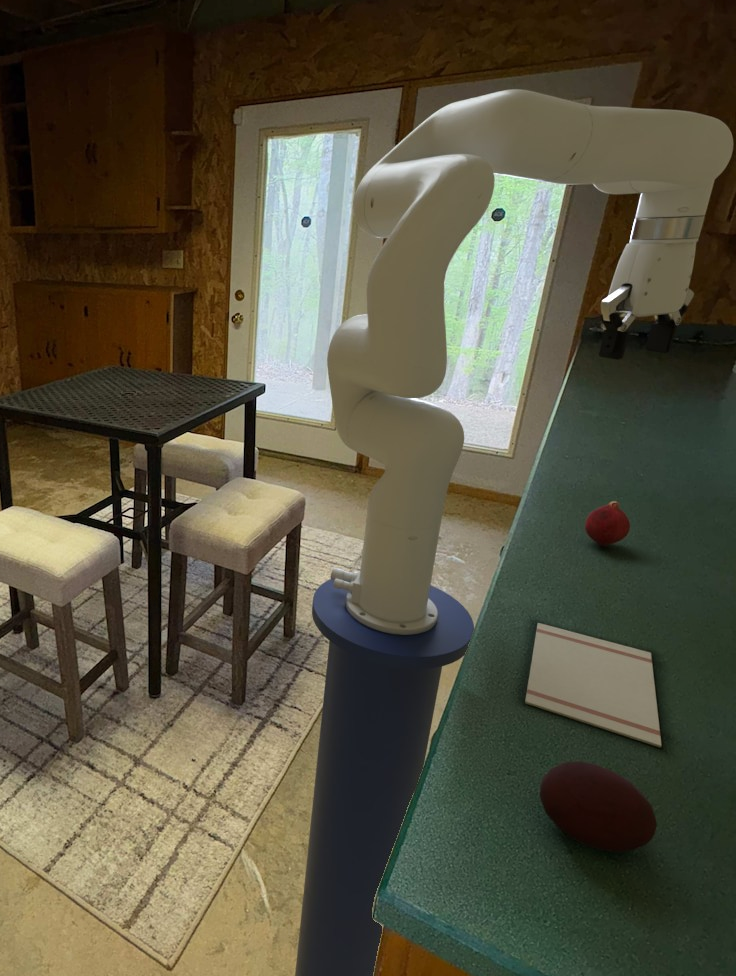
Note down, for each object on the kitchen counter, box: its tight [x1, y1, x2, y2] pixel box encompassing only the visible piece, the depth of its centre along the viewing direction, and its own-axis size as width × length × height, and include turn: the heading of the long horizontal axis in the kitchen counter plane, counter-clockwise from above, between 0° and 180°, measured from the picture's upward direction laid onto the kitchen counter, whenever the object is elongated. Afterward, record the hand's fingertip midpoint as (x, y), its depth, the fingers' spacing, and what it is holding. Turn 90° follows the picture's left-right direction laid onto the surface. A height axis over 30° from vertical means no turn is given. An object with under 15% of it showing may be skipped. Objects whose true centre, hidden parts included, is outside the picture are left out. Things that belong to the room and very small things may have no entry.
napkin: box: [524, 622, 663, 749], centre depth 74 cm, size 12×18×1 cm, turn 145°
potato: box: [539, 761, 658, 853], centre depth 54 cm, size 7×8×6 cm
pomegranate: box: [584, 500, 631, 547], centre depth 102 cm, size 6×6×8 cm
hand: (634, 354), depth 93 cm, fingers open, 9 cm apart
